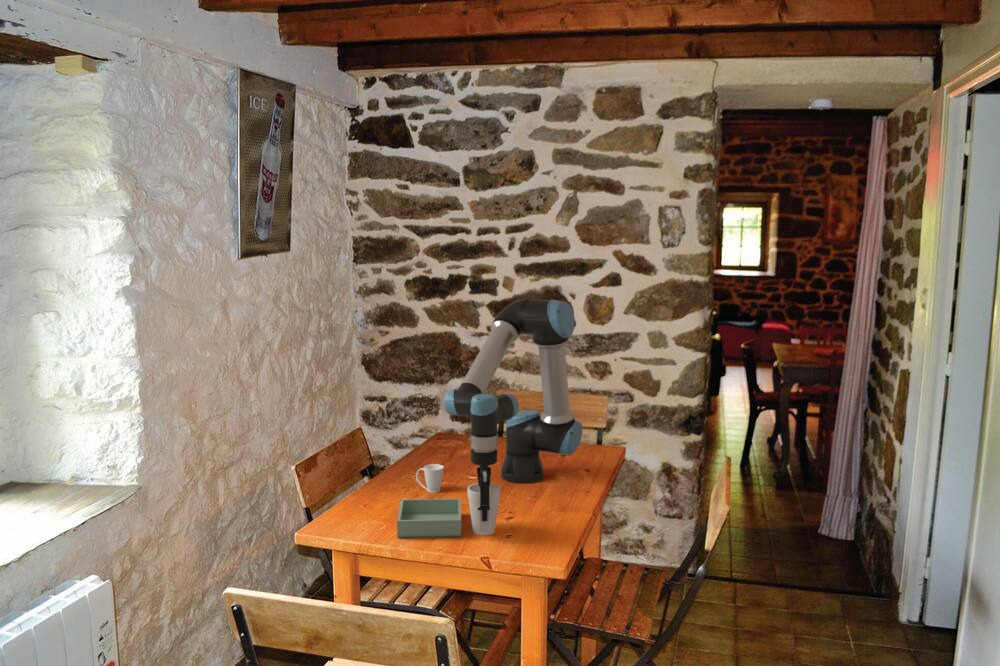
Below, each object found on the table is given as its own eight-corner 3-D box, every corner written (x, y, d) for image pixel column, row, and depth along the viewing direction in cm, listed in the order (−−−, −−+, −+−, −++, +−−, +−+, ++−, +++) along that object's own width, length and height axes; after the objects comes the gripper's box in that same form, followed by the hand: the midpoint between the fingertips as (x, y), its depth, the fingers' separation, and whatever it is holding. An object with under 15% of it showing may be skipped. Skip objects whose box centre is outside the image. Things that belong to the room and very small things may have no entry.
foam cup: (466, 525, 237) (466, 483, 235) (498, 524, 237) (498, 482, 236) (468, 538, 227) (468, 493, 226) (501, 537, 228) (501, 493, 226)
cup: (438, 495, 263) (438, 471, 262) (411, 491, 267) (411, 467, 266) (448, 488, 269) (448, 465, 268) (421, 484, 273) (421, 461, 272)
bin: (460, 514, 246) (460, 498, 245) (461, 537, 228) (461, 520, 227) (401, 515, 245) (401, 499, 244) (397, 538, 227) (397, 521, 226)
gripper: (470, 438, 240) (469, 510, 243) (471, 460, 218) (471, 539, 221) (495, 438, 240) (494, 510, 243) (499, 460, 218) (498, 539, 221)
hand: (483, 524), depth 232 cm, fingers closed on foam cup, 9 cm apart
